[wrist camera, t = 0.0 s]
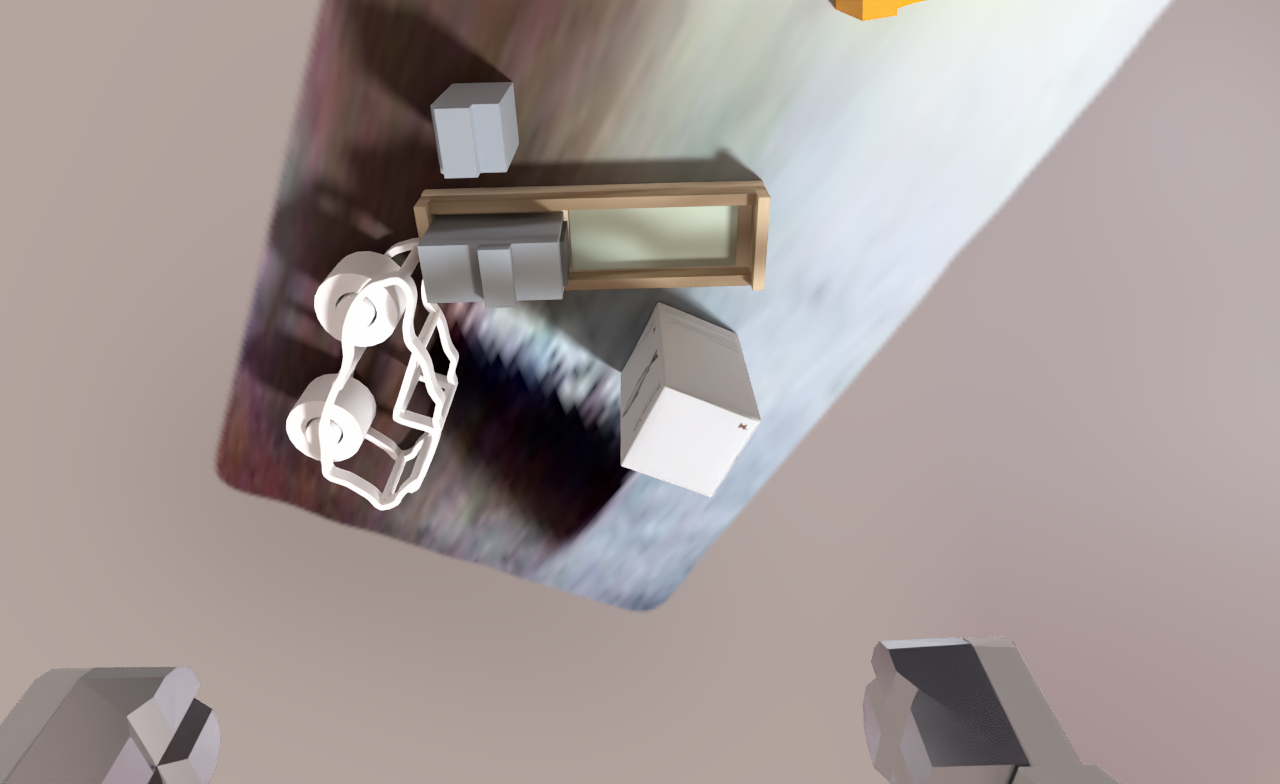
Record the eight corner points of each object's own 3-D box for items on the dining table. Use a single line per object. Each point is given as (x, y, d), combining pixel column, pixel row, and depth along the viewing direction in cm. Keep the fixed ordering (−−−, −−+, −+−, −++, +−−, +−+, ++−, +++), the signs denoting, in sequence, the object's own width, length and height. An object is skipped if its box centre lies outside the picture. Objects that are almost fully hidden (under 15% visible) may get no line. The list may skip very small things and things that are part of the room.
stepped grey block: (447, 83, 51) (421, 109, 44) (512, 81, 51) (496, 107, 44) (456, 145, 53) (432, 178, 46) (519, 143, 53) (504, 176, 46)
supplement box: (656, 298, 59) (665, 382, 49) (740, 333, 61) (766, 422, 50) (617, 373, 63) (617, 467, 52) (697, 404, 65) (713, 501, 54)
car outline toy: (353, 211, 55) (319, 249, 49) (500, 267, 58) (485, 309, 52) (301, 424, 65) (267, 478, 59) (429, 463, 67) (410, 519, 61)
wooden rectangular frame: (424, 189, 54) (396, 229, 47) (762, 180, 55) (783, 218, 48) (440, 280, 58) (416, 330, 51) (756, 271, 58) (775, 319, 51)
